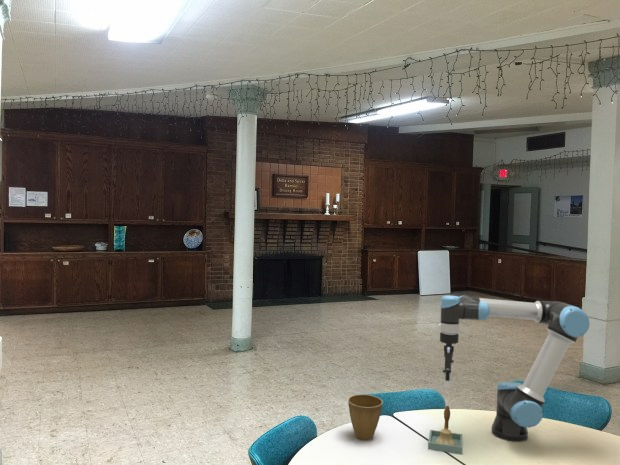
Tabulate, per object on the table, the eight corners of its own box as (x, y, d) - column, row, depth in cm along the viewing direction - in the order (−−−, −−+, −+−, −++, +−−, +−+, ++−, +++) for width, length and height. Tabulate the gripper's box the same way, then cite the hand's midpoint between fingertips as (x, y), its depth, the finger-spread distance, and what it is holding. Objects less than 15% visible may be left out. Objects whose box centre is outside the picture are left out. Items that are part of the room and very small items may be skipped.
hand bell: (453, 439, 220) (455, 403, 219) (457, 448, 211) (458, 410, 211) (434, 438, 220) (435, 402, 220) (437, 447, 212) (438, 409, 212)
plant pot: (340, 435, 223) (341, 399, 222) (363, 426, 232) (364, 392, 232) (365, 447, 211) (366, 409, 211) (388, 438, 221) (389, 401, 221)
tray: (462, 440, 220) (462, 434, 220) (462, 454, 207) (462, 447, 207) (429, 435, 224) (430, 429, 224) (427, 449, 211) (428, 442, 211)
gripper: (441, 326, 227) (439, 373, 228) (438, 338, 204) (437, 391, 204) (458, 327, 225) (457, 375, 226) (458, 340, 201) (456, 393, 202)
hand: (447, 382), depth 215 cm, fingers open, 13 cm apart
